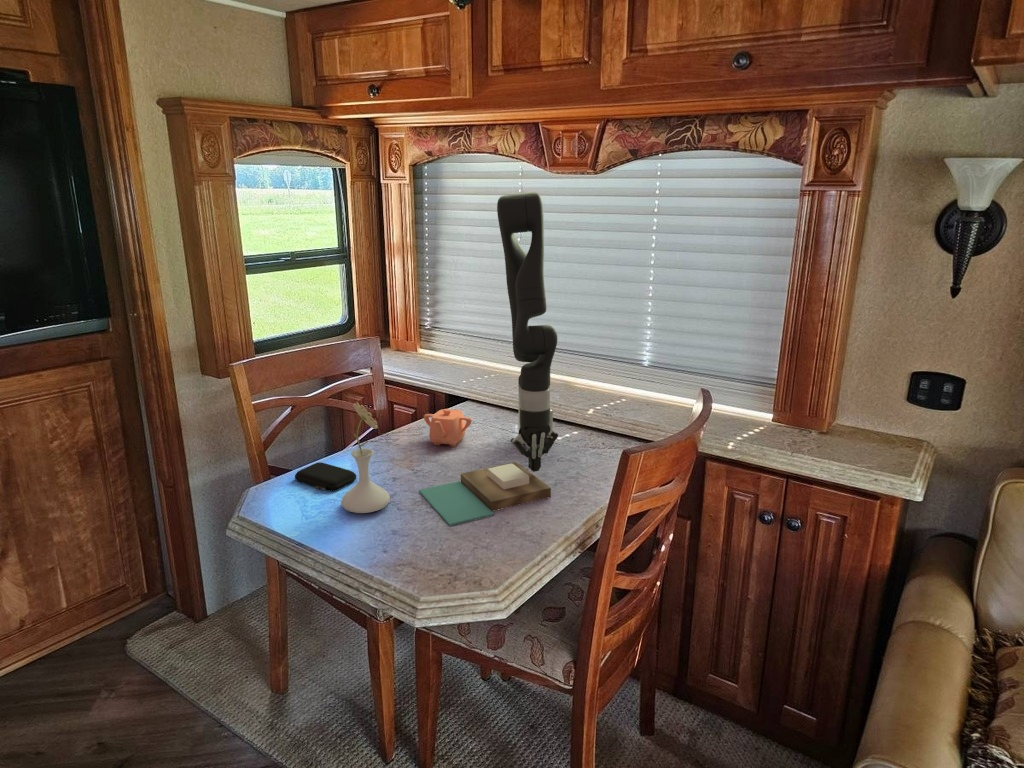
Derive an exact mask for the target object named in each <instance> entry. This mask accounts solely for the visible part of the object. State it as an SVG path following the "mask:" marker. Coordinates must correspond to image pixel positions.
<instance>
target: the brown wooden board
mask: <svg viewBox="0 0 1024 768" xmlns="http://www.w3.org/2000/svg"><path fill="white" fill-rule="evenodd" d="M507 464H514V465H515V466H516V467H518V468H519V469H520V470H522V471H523V472H524V473H526V474H527V475H528V476H529V484H526V485H521V486H517V487H512V488H508V489H503V488H501V487H500V486H499V485H498V484H497V483H496V482H494V481H493V480H492V479H491V478H490V477H488V468H493V467H497V466H502V465H507ZM460 482H461V483H462V484H463V485H464V486H465V487H467V488H468V489H469V490H470V491H471V492H472V493H473V494H474V495H475V496H476V497H477V498H478V499H479V500H480V501H482V502H483V503H484V504H485V505H486V506H487V507H488V508H489V509H490V510H491V511H492V512H494V511H493V510H495V511H499V510H498V509H500V510H502V509H501V508H504V509H507V508H506V507H508V508H511V507H510V506H512V507H515V505H516V506H520V505H523V503H524V504H528V503H527V502H529V503H532V502H531V501H533V502H536V501H535V500H537V501H540V500H539V499H541V500H544V499H543V498H545V499H549V498H551V497H552V496H551V494H552V487H551V486H549V485H548V484H547V483H545V482H544V481H542V480H541V479H539V478H538V477H537V476H536V475H534V474H533V473H531V472H530V471H529V470H528V469H527V468H525V467H523V466H522V465H521V464H519V463H518V462H517V461H515V462H511V463H505V464H501V465H496V466H491V467H487V468H481V469H476V470H472V471H466V472H461V473H460ZM548 497H549V498H548ZM519 504H520V505H519Z"/></svg>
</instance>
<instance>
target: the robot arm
mask: <svg viewBox="0 0 1024 768" xmlns="http://www.w3.org/2000/svg"><path fill="white" fill-rule="evenodd" d="M496 204H497V205H496V210H497V211H496V213H497V220H498V225H499V231H500V237H501V243H502V249H503V255H504V264H505V265H504V266H505V276H506V279H505V280H506V287H507V293H508V296H507V297H508V300H509V301H508V302H509V308H510V316H511V327H512V329H511V332H512V333H511V334H512V336H511V337H512V351H513V352H512V353H513V355H514V358H515V360H516V361H518V362H522V363H525V364H523V365H522V366H521V368H520V374H519V376H518V381H517V382H518V390H517V391H518V435H517V436H516V437H511V439H510V442H511V444H512V445H513V446H514V447H515V448H516V450H517V451H518V452H519V453H520V454H521V455H522V456H524V457H525V458H527V459H528V460H527V461H528V469H529V470H530V471H531V472H533V473H535V472H539V471H540V469H541V468H542V457H543V455H544V454H545V455H547V454H548V453H549V451H550V450H551V449H552V446H553V445H554V444H555V442H556V440H557V439H558V437H559V433H557V432H555V431H553V427H554V426H553V420H554V418H553V416H554V414H553V413H554V411H553V409H552V408H551V367H552V362H553V359H554V355H555V352H556V349H557V345H558V334H557V331H556V329H555V328H554V327H553V326H552V325H550V324H540V325H539V324H538V325H529V320H530V319H533V318H536V317H540V316H543V315H545V313H546V312H547V299H546V289H545V275H544V273H545V272H544V271H545V269H544V267H545V265H544V264H545V263H544V262H545V220H544V219H545V216H544V215H545V214H544V207H543V206H544V205H543V201H542V198H541V196H540V194H539V193H538V192H535V191H534V192H521V193H512V194H505V195H501V196H500V197H499V198H498V200H497V203H496ZM528 232H529V233H530V232H531V242H530V246H529V249H528V251H527V253H526V251H524V249H523V248H522V247H521V245H520V244H519V242H518V240H517V237H516V236H515V234H519V233H528ZM523 445H525V447H524V446H523Z"/></svg>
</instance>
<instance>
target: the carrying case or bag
mask: <svg viewBox="0 0 1024 768" xmlns="http://www.w3.org/2000/svg"><path fill="white" fill-rule="evenodd" d="M294 479H295V480H296V481H297V482H299V483H301V484H305V485H308V486H312V487H313V488H316V490H323V491H327V492H336V491H339V490H341V489H342V488H345V487H346V486H349V485H350V484H352V483H354V482H355V481H356V480H357V474H356V473H355V472H354V471H352V470H350V469H346V468H343V467H340V466H336V465H333V464H328V463H324V462H319V461H318V462H316V463H313V464H311V465H308V466H307V467H304V468H301V469H299V470H298V471H297V472H296V473H295V475H294Z"/></svg>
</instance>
